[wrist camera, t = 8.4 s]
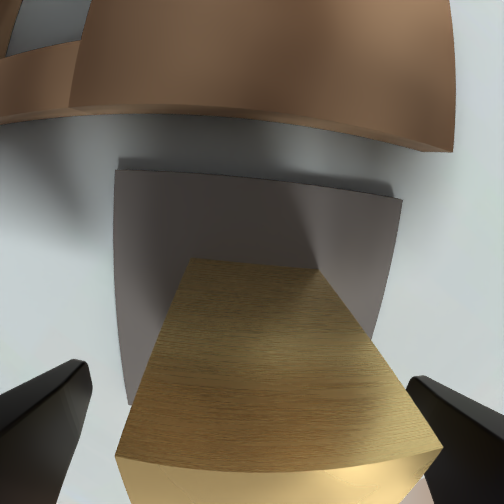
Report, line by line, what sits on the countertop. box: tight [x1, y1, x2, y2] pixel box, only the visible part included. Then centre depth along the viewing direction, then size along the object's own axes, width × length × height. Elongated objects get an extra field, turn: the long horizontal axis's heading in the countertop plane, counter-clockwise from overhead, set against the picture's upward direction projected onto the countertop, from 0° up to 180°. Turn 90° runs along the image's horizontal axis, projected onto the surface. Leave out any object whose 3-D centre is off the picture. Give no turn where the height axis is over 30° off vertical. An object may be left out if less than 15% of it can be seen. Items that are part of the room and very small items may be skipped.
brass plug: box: [115, 258, 443, 504], centre depth 7 cm, size 4×4×8 cm
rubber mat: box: [113, 170, 403, 405], centre depth 12 cm, size 10×10×1 cm
